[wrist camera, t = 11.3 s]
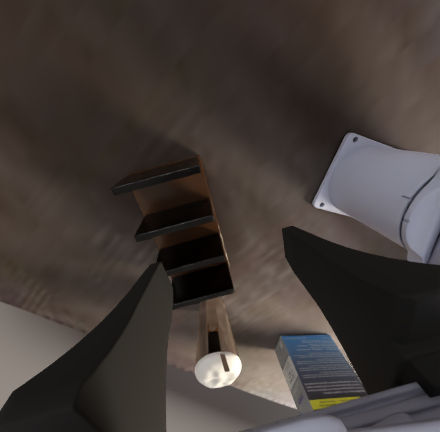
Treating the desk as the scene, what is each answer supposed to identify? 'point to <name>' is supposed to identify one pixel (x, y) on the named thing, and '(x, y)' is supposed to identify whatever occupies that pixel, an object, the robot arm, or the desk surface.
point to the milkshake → (215, 346)
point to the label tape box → (317, 372)
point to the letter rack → (182, 228)
